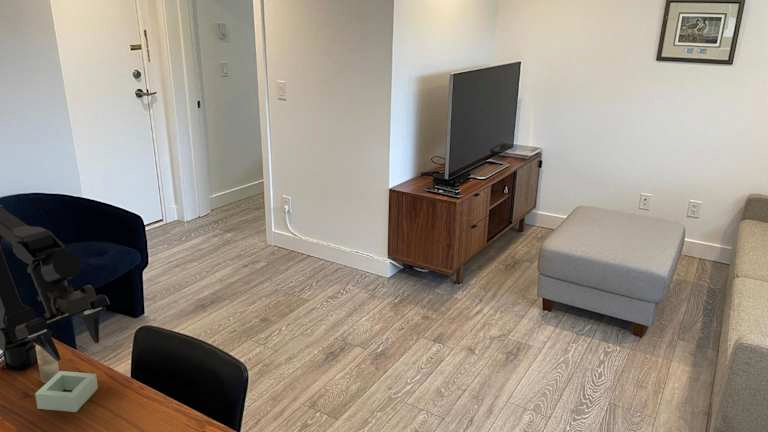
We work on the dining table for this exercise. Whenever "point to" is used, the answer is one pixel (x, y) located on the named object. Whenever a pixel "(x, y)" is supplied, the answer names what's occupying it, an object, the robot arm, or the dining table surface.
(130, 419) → the dining table surface
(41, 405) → the socket
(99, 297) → the robot arm
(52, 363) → the peg
